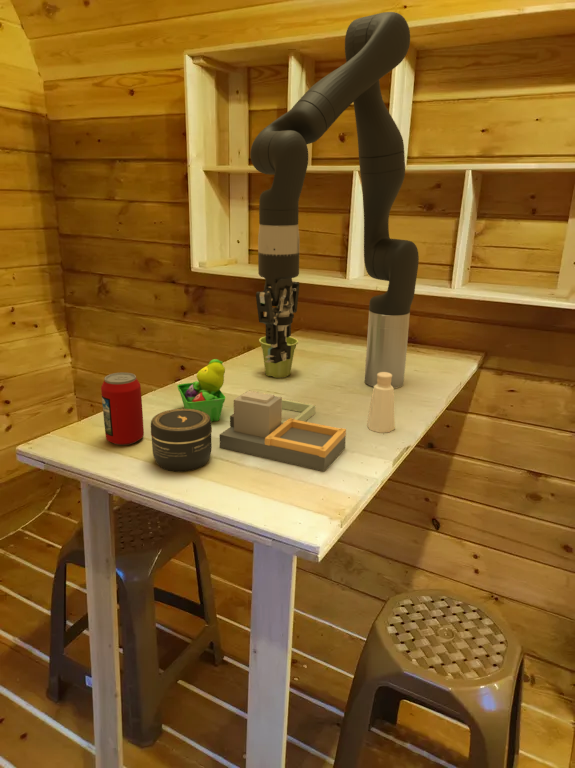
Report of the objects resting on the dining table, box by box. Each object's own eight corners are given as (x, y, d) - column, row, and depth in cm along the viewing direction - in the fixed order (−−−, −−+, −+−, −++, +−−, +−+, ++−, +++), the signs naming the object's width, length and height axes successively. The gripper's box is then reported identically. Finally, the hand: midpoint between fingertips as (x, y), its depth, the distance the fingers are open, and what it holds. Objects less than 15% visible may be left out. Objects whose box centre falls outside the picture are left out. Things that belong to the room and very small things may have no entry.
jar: (185, 442, 106) (184, 403, 104) (224, 459, 100) (224, 417, 98) (140, 461, 99) (137, 419, 96) (179, 480, 93) (177, 436, 90)
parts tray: (264, 403, 125) (264, 395, 124) (314, 413, 120) (315, 404, 120) (237, 422, 115) (237, 414, 114) (291, 433, 110) (291, 424, 110)
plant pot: (290, 367, 149) (290, 334, 147) (302, 378, 141) (303, 343, 138) (254, 370, 147) (254, 336, 144) (265, 382, 138) (265, 346, 135)
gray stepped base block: (246, 427, 113) (245, 382, 110) (345, 448, 105) (347, 400, 102) (218, 447, 104) (217, 399, 101) (324, 471, 96) (326, 420, 93)
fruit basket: (177, 407, 122) (174, 355, 119) (218, 402, 125) (217, 351, 122) (188, 427, 112) (186, 371, 109) (233, 421, 115) (232, 367, 112)
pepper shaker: (393, 434, 111) (397, 379, 107) (364, 431, 112) (368, 376, 109) (396, 423, 116) (400, 370, 112) (368, 420, 117) (372, 368, 114)
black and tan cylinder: (277, 367, 109) (278, 315, 106) (254, 362, 112) (255, 310, 109) (297, 359, 114) (299, 309, 111) (275, 354, 117) (277, 305, 114)
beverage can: (112, 431, 110) (107, 370, 106) (148, 432, 110) (144, 371, 106) (100, 447, 104) (94, 383, 100) (138, 448, 104) (133, 384, 100)
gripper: (280, 256, 99) (279, 352, 105) (313, 247, 111) (311, 333, 117) (241, 253, 102) (243, 347, 108) (277, 244, 114) (277, 329, 120)
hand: (278, 339), depth 112 cm, fingers closed on black and tan cylinder, 5 cm apart
